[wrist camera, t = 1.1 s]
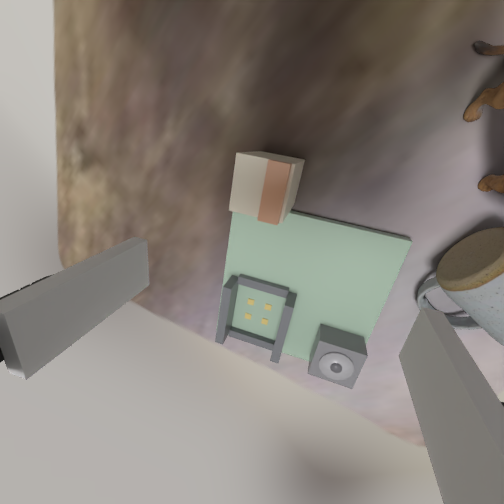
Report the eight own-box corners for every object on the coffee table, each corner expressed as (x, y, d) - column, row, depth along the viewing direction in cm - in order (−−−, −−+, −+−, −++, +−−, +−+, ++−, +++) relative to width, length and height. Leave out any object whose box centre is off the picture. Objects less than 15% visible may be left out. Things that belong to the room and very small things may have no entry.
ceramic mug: (488, 210, 23) (552, 238, 16) (559, 267, 23) (651, 318, 17) (392, 285, 28) (411, 331, 21) (451, 332, 28) (488, 392, 22)
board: (237, 198, 29) (234, 200, 28) (409, 237, 26) (412, 241, 25) (219, 324, 36) (216, 330, 35) (351, 368, 33) (351, 375, 32)
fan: (320, 323, 31) (319, 343, 28) (364, 337, 30) (368, 359, 27) (309, 355, 33) (307, 377, 30) (350, 368, 32) (352, 392, 29)
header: (232, 271, 31) (223, 282, 29) (298, 290, 30) (294, 304, 27) (223, 329, 35) (214, 344, 32) (281, 349, 34) (277, 366, 31)
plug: (261, 151, 27) (232, 152, 19) (305, 159, 26) (293, 164, 18) (254, 194, 29) (225, 212, 21) (294, 204, 28) (280, 226, 20)
